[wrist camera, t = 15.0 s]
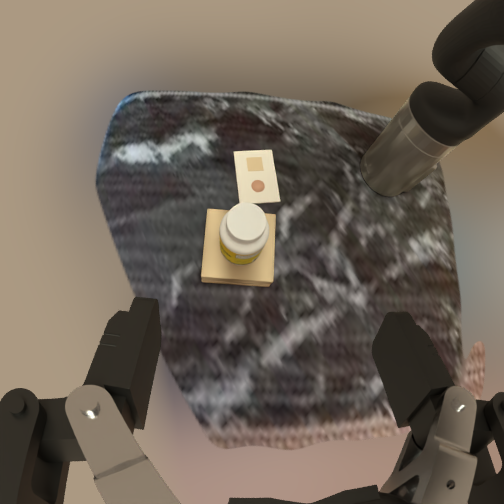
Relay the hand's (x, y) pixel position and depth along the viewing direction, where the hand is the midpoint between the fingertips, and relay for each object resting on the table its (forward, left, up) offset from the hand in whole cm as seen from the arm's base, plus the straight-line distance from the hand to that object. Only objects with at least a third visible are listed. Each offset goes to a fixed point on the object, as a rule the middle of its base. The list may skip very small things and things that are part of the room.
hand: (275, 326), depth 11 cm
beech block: (0, -11, -33) cm, 34 cm away
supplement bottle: (0, -10, -29) cm, 31 cm away
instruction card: (-2, -23, -33) cm, 40 cm away
